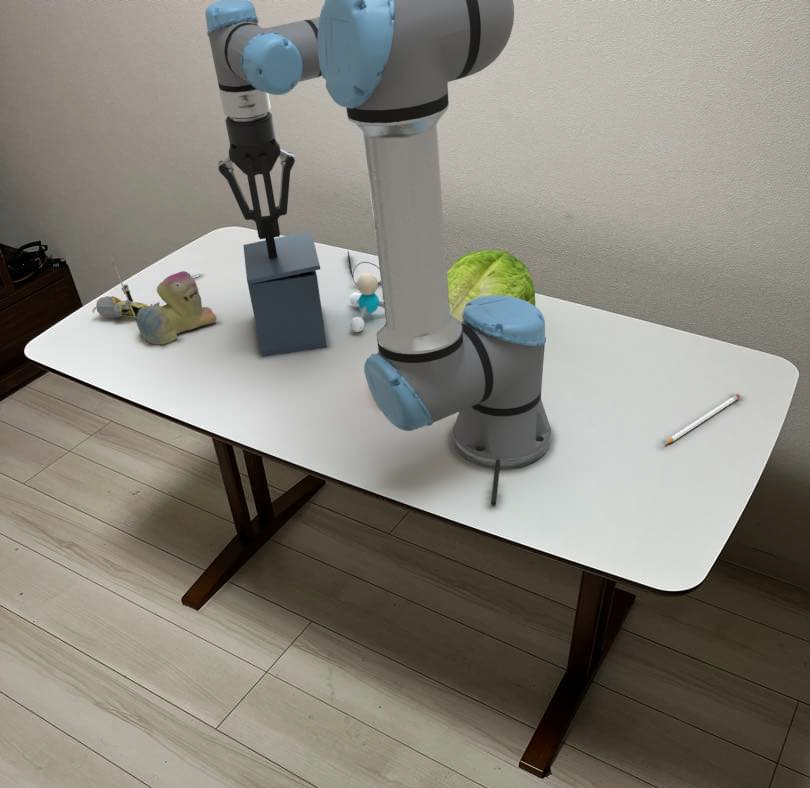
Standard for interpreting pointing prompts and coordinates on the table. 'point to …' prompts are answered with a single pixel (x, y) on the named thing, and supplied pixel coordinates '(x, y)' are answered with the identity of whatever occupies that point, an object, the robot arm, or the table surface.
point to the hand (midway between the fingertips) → (272, 254)
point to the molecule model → (365, 299)
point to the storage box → (288, 314)
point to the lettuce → (487, 279)
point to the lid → (281, 258)
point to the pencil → (702, 419)
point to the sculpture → (174, 310)
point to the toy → (119, 303)
